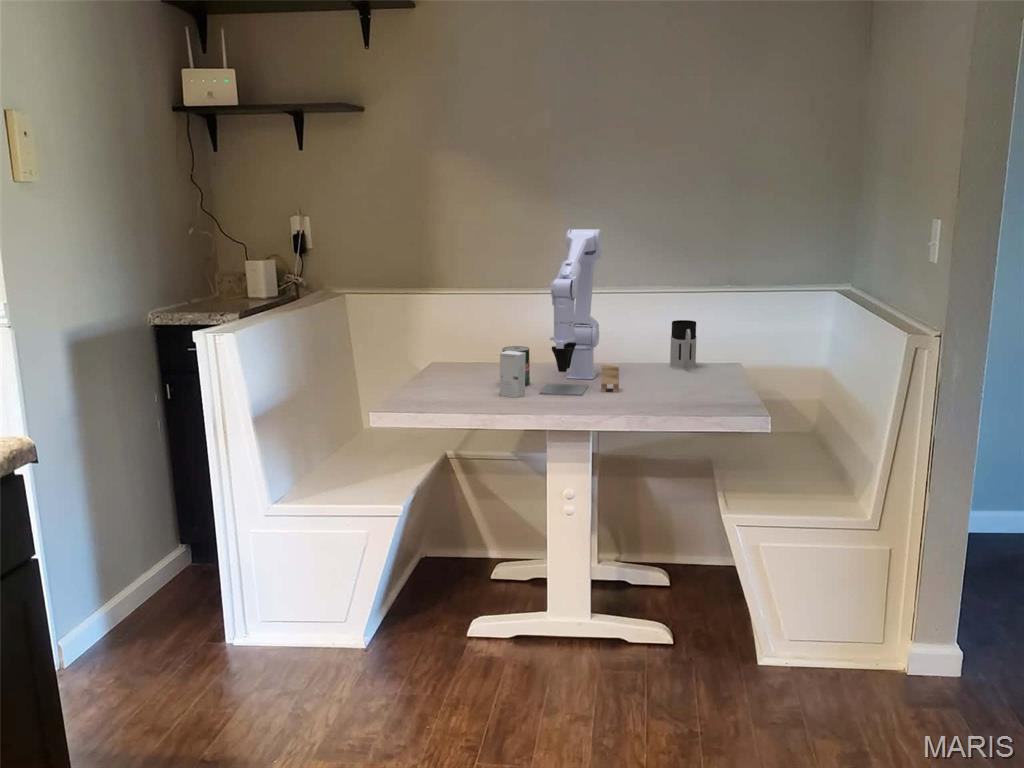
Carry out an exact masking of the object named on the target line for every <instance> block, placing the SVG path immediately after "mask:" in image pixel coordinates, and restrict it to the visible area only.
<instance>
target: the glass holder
mask: <svg viewBox="0 0 1024 768" xmlns="http://www.w3.org/2000/svg"><path fill="white" fill-rule="evenodd" d="M669 361H670V362H669V363H670V364H669V369H671V370H676V371H690V370H691V371H692V370H695V369H697V366H696V362H697V321H695V320H689V319H688V320H684V319H680V320H679V319H678V320H672V321H671V335H670V360H669Z"/></svg>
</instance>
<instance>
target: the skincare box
mask: <svg viewBox="0 0 1024 768" xmlns="http://www.w3.org/2000/svg"><path fill="white" fill-rule="evenodd" d="M499 359H500V360H499V396H500V397H501V396H502V397H509V398H515V399H517V398H520V397H523V396H525V395H526V387H525V360H526V353H525V352H517V351H505V352H502V351H501V352H500V353H499Z"/></svg>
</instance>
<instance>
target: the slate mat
mask: <svg viewBox="0 0 1024 768" xmlns="http://www.w3.org/2000/svg"><path fill="white" fill-rule="evenodd" d="M588 388H589V385H588V384H568V383H567V384H565V383H547V384H546V385H545V386H544V387H542V389H541V390H540V391H539V393H538V395H546V396H547V395H548V396H551V395H552V396H572V397H573V396H575V397H576V396H577V397H582V396H584V394H585V393H586V391H587V389H588Z"/></svg>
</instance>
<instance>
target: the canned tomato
mask: <svg viewBox="0 0 1024 768" xmlns="http://www.w3.org/2000/svg"><path fill="white" fill-rule="evenodd" d="M505 351H517V352H525V353H526V360H525V388H526V387H529V386H530V385H531V383H530V377H531V375H530V374H531V373H530V372H531V371H530V347H528V346H524V345H512V346H505V347H502V351H501V353H502V352H505Z"/></svg>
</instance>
